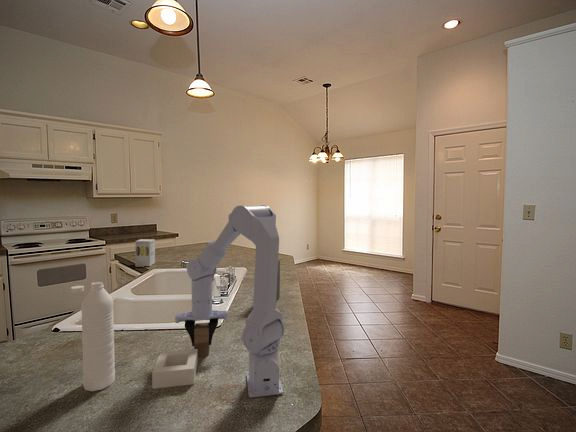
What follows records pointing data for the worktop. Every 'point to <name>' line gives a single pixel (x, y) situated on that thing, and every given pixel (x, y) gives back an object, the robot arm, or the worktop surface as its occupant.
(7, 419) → the worktop surface
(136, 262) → the supplement box
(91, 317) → the water bottle
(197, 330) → the walnut peg
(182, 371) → the ceramic well
